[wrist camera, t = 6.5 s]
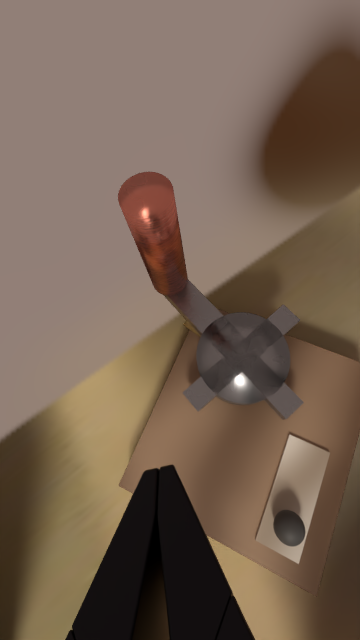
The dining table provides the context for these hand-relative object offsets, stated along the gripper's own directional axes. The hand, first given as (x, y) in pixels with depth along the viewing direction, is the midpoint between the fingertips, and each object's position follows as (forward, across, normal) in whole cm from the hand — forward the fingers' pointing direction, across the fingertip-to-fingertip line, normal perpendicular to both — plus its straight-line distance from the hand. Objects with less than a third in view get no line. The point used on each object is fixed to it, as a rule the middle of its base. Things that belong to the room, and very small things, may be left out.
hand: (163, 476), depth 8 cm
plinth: (+10, -4, +9) cm, 14 cm away
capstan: (+12, -3, +3) cm, 13 cm away
